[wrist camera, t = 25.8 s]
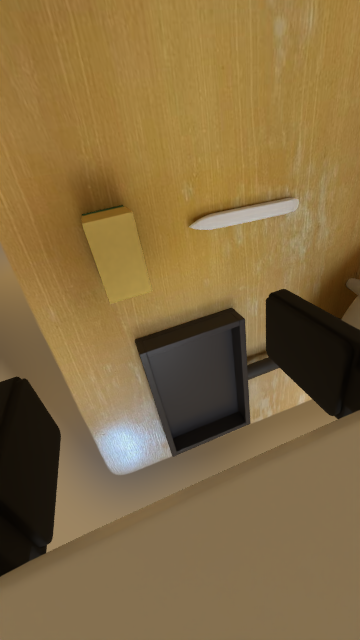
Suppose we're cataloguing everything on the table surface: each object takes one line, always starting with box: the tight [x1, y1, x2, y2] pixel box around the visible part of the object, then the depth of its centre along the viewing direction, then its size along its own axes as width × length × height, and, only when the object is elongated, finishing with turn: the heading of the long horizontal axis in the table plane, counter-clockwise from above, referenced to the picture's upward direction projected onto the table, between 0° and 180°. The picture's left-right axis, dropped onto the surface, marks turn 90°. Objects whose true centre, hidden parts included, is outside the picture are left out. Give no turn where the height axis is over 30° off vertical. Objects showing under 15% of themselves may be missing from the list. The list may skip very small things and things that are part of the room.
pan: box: [135, 308, 250, 456], centre depth 38 cm, size 14×21×3 cm, turn 10°
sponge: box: [82, 205, 152, 304], centre depth 25 cm, size 4×7×6 cm, turn 10°
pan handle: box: [247, 357, 280, 380], centre depth 40 cm, size 7×2×2 cm, turn 100°
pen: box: [189, 198, 299, 230], centre depth 29 cm, size 2×14×2 cm, turn 97°
